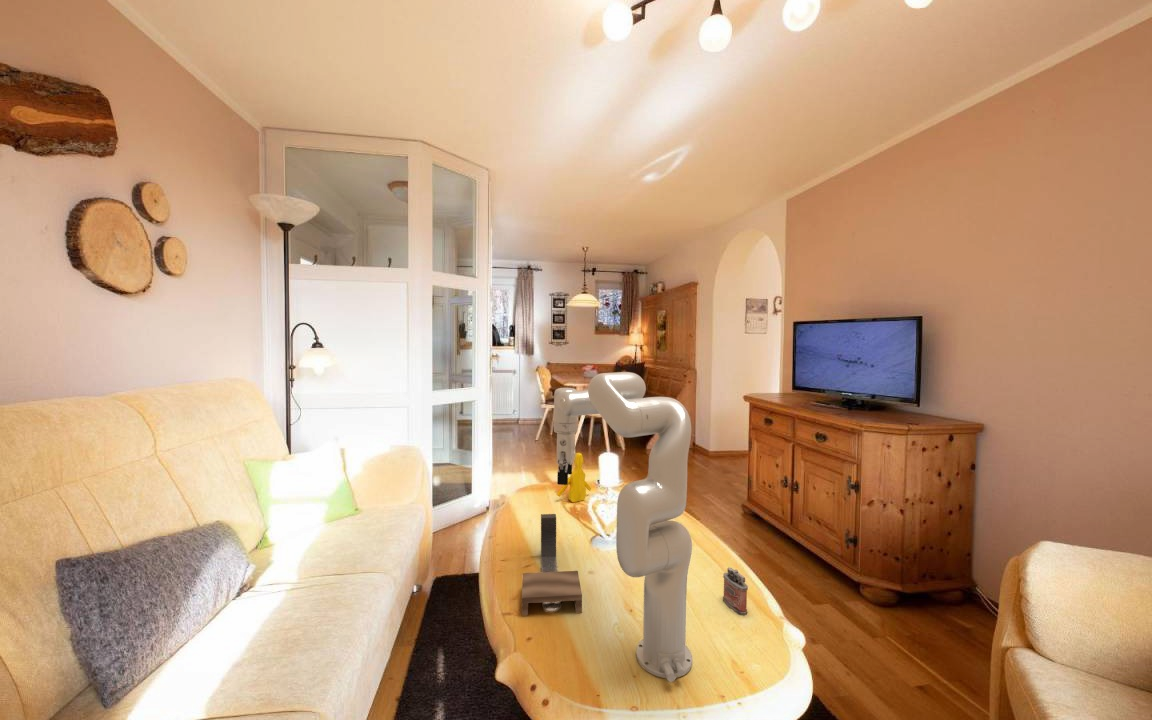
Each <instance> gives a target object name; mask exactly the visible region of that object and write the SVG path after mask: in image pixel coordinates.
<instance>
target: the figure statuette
mask: <svg viewBox="0 0 1152 720" xmlns="http://www.w3.org/2000/svg"><path fill="white" fill-rule="evenodd" d="M573 464H574V468H573V469H572V474H569V476H568V484H567V485H562V487H561V488H560V489H559V491H558V492H557V493H556V495H557V496H558V497H559V498H560V497H561V495H562V494H563V493H564V491H565V490H566V489H567V488H568V486H569V488H568V494H567V495H568V498H567V499H568V501H570V502H571V503H577V502H581V501H585V500H586V496H587V490H588V492H589V491H590V492H591V490H592V487H591V486H590V485H589V484H588V482H587V481H586V473H585V472H584V469H583V468H582V466H583V464H584V457H583V454H582V453H581V452H575V459H574V461H573ZM586 489H587V490H586Z"/></svg>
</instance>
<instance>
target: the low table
mask: <svg viewBox="0 0 1152 720" xmlns="http://www.w3.org/2000/svg"><path fill="white" fill-rule="evenodd" d="M579 576H580V575H579V570H563V571H558V572H524V573H522V584H521V585H522V586H521V617H528V615H529V604H531V603H533V604H535V603H543V602H557V601H560V602H570V601H571V602H573V603H574V608H575V613H576V614H582V613H583V591H582V587H581V582H580V577H579Z"/></svg>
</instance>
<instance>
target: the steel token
mask: <svg viewBox="0 0 1152 720" xmlns="http://www.w3.org/2000/svg"><path fill="white" fill-rule="evenodd" d="M561 602H562V601H557V602H541V603H542V609H543V611H544V612H547V613H556V612H558V611H559V610H560V609H561V607H562V606H561V605H562V603H561Z"/></svg>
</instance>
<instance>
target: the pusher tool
mask: <svg viewBox="0 0 1152 720" xmlns="http://www.w3.org/2000/svg"><path fill="white" fill-rule="evenodd" d="M540 565H541V566H540V567H541V568H540V569H541V572H559V571H558V570H559V569H558V561H557V515H556V513H545V514H544V513H543V514H540Z"/></svg>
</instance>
